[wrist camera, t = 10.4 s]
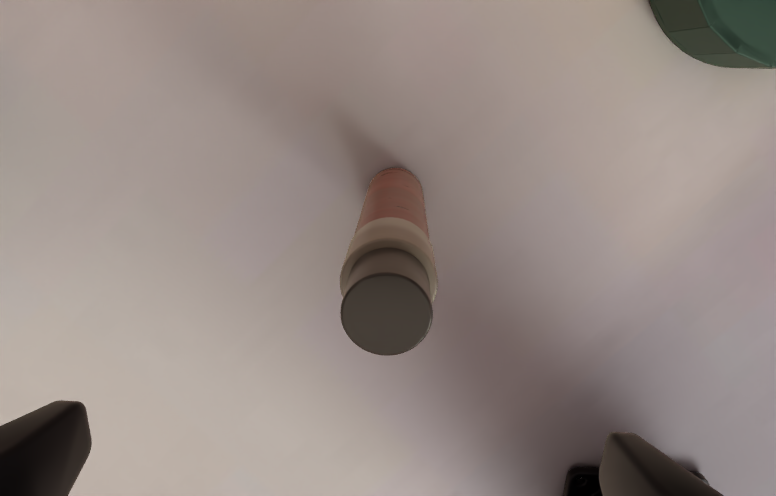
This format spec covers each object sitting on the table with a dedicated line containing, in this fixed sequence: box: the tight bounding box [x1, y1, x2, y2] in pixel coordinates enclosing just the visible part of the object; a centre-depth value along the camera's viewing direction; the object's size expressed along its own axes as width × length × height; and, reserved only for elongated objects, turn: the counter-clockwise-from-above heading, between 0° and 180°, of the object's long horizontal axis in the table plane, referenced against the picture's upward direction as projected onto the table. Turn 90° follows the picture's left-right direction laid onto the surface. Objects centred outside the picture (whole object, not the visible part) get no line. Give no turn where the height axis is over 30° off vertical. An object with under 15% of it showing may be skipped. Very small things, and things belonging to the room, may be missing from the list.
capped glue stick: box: [340, 168, 438, 355], centre depth 16 cm, size 2×2×11 cm
